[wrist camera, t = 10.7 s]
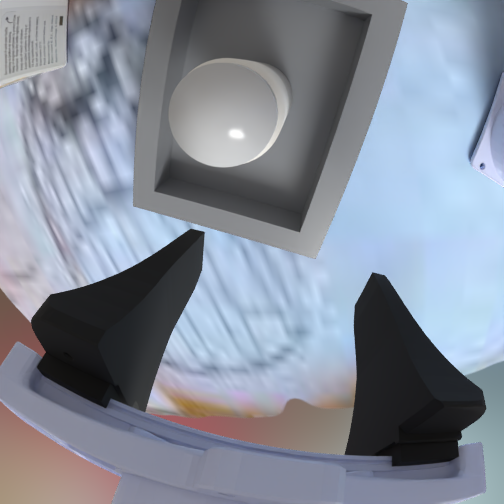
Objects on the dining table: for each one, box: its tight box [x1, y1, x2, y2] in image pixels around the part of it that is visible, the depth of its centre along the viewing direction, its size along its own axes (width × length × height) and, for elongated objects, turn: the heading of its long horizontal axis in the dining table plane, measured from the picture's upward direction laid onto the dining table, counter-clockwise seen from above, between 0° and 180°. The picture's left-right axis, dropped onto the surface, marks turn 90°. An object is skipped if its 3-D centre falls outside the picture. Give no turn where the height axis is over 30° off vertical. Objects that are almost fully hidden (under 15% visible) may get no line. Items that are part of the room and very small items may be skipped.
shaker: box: [168, 58, 293, 167], centre depth 13 cm, size 4×4×8 cm
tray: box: [133, 0, 408, 259], centre depth 16 cm, size 13×17×3 cm
